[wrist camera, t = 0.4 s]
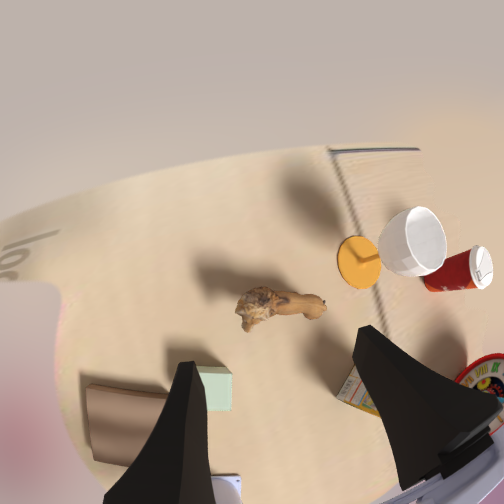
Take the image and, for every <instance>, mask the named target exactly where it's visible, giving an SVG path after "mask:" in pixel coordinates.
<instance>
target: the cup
mask: <svg viewBox="0 0 504 504" xmlns="http://www.w3.org/2000/svg"><path fill="white" fill-rule="evenodd" d="M446 251H447V243H446V237H445V233H444V230H443V228H442V225H441V223H440V221H439V220H438V218H437V217H436V216H435V214H434V213H432V212H431V211H430V210H429V209H427V208H425V207H421V206H416V207H413V208H409V209H407V210H404V211H402V212H400V213H399V214H397V215H396V216H394V217H393V218H392V219H391V220H390V221H389V222H388V223H387V225H386V226H385V228H384V229H383V230H382V232H381V234H380V236H379V240H378V251H377V248H376V247H375V246H374V245H373V244H372V242H371V241H369V240H368V239H366V238H364V237H361V236H353V237H351V238H348V239H346V240H345V242H344V243H343V244H342V245H341V246H340V250H339V253H338V267H339V270H340V272H341V274H342V277H343V278H344V279H345V280H346V281H347V283H348V284H349V285H351V286H353V287H355V288H357V289H366V288H368V287H370V286H372V285H373V284H374V283H375V282H376V281H377V279H378V278H379V275H380V271H381V261H382V263H383V264H384V265H385V267H386V268H387V269H389V270H391V271H392V272H394V273H396V274H398V275H402V276H424V275H428V274H430V273H432V272H434V271H436V270H437V269H439V268H440V267H441V266H442V265H443V262H444V260H445V258H446ZM380 259H381V260H380Z"/></svg>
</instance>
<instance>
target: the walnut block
mask: <svg viewBox="0 0 504 504" xmlns="http://www.w3.org/2000/svg"><path fill="white" fill-rule="evenodd" d="M167 397H168V394H161V393H150V392H141V391H133V390H126V389H119V388H112V387H106V386H101V385H95V384H90V385H89V386H87V387H86V402H87V413H88V423H89V431H90V439H91V445H92V452H93V458H94V460H95V461H100V462H104V463H109V464H114V465H120V466H126V467H129V466H130V465H131V464H132V463H133V461H134V460H135V458H136V457H137V456H138V454H139V452H140V451H141V449H142V448H143V446H144V445H145V443H146V441H147V439H148V438H149V436H150V434H151V432H152V430H153V428H154V426H155V424H156V422H157V420H158V418H159V416H160V414H161V411H162V409H163V407H164V404H165V402H166V399H167Z"/></svg>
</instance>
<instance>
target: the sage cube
mask: <svg viewBox="0 0 504 504" xmlns="http://www.w3.org/2000/svg"><path fill="white" fill-rule="evenodd" d="M196 367H197V370H198V372H199V375H200V377H201V380H202V382H203V385H204V387H205V394H206V402H207V411H231V399H232V373H231V372H230V370H229V369H228V368H227V367H211V366H196Z"/></svg>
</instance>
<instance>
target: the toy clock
mask: <svg viewBox="0 0 504 504" xmlns="http://www.w3.org/2000/svg"><path fill="white" fill-rule="evenodd" d="M455 382H456V383H459V384H461V385H464V386H466V387H469V388H472V389H475V390H479V391H482V392H487V393H491V394H495V395H496V396H497V398H498V399H499V401H500V402H501V404H502V405H503V407H504V354H501V353H495V354H490V355H486V356H484V357H482V358H479V359H478V360H476V361H475V362H473V363H472V364H471V365H469V366H468V367H467V368H466V369H465V370H464V371H463V372H462V373H461V374H460V375H459V376H458V378H457V379H456V380H455ZM502 425H504V408H503V410H502V412H501V413H500V414H499V415H498V416H497V417H496V418H495V419H494V420H493V421H492V422H491V423H490V424H489V427H490V428H491V431H490V432H488V433H489V434H490V436H491V435H492V434H493V433H494V432H496V431H497V430H498V429H499V428H500V427H501V426H502Z"/></svg>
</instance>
